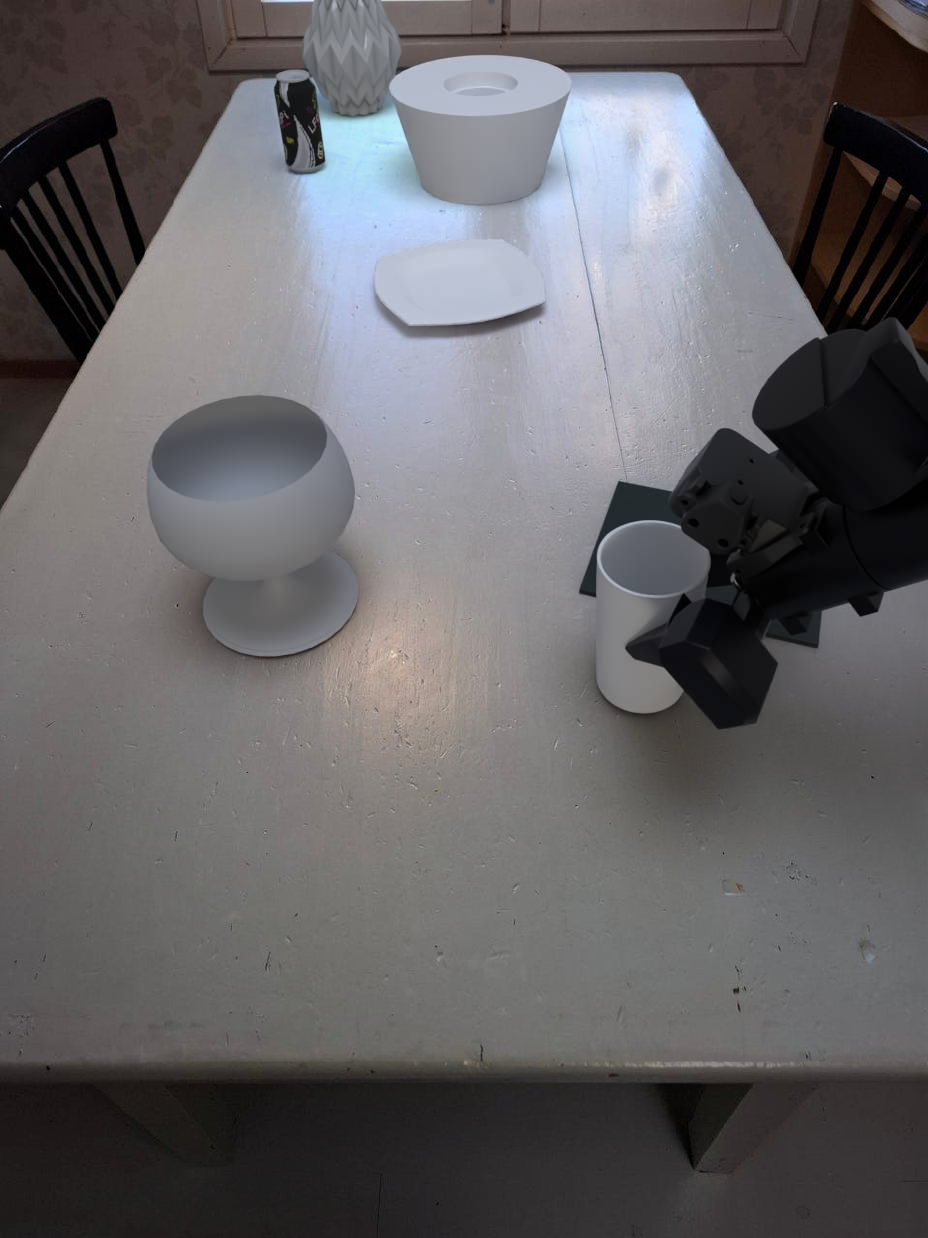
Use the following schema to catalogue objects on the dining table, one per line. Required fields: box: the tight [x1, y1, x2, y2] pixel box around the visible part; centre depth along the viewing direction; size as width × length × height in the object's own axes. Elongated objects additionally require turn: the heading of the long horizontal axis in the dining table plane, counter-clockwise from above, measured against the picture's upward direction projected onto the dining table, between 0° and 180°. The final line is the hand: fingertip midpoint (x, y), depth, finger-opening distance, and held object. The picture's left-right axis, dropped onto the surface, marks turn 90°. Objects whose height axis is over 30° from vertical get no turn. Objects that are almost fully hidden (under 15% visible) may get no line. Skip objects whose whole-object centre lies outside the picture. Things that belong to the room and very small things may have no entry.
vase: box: [299, 0, 403, 117], centre depth 134 cm, size 16×16×18 cm
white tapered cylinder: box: [389, 54, 573, 206], centre depth 116 cm, size 24×24×12 cm
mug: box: [595, 520, 711, 714], centre depth 55 cm, size 10×7×12 cm, turn 45°
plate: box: [373, 238, 547, 327], centre depth 98 cm, size 19×19×2 cm
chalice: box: [146, 394, 360, 657], centre depth 62 cm, size 14×14×15 cm
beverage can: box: [273, 69, 326, 174], centre depth 121 cm, size 6×6×12 cm
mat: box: [578, 480, 823, 649], centre depth 69 cm, size 18×14×1 cm
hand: (649, 616), depth 56 cm, fingers closed on mug, 6 cm apart
